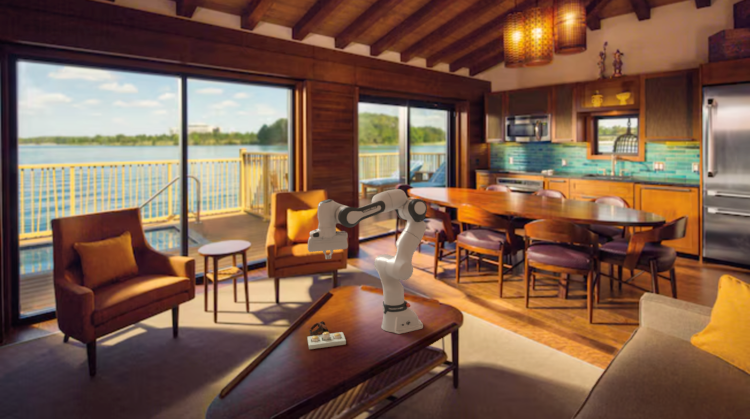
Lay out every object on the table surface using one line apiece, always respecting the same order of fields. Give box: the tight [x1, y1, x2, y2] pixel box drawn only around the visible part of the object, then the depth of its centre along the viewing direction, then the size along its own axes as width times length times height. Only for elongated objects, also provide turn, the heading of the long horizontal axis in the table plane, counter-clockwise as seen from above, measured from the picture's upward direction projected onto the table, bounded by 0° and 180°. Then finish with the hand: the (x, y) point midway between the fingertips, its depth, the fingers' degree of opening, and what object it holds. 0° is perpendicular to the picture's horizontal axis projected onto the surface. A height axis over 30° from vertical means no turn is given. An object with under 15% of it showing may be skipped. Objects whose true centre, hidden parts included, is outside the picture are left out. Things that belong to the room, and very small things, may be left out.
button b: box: [321, 331, 331, 341], centre depth 208 cm, size 4×4×3 cm
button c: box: [311, 336, 319, 342], centre depth 207 cm, size 4×4×3 cm
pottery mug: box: [308, 321, 330, 336], centre depth 219 cm, size 12×10×8 cm
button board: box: [306, 331, 347, 350], centre depth 209 cm, size 18×10×3 cm, turn 103°
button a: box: [334, 332, 341, 339], centre depth 210 cm, size 4×4×3 cm
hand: (328, 258), depth 213 cm, fingers closed
